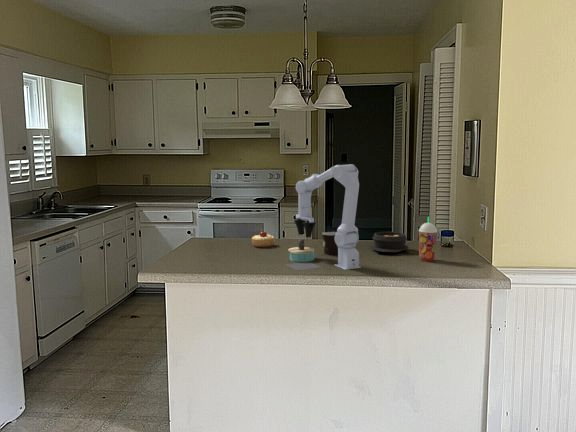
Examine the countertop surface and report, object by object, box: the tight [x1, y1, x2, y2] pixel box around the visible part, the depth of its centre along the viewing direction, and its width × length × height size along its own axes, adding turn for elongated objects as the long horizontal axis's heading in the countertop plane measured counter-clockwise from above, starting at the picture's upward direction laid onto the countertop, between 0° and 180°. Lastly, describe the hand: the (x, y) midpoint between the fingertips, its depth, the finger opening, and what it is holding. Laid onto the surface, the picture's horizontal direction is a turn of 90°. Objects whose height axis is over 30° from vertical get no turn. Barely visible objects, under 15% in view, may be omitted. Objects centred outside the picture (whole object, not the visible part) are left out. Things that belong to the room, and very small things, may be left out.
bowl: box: [289, 251, 315, 263], centre depth 252 cm, size 11×11×4 cm
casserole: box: [370, 231, 410, 254], centre depth 271 cm, size 25×19×8 cm
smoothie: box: [417, 216, 438, 263], centre depth 248 cm, size 8×8×20 cm
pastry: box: [251, 228, 276, 248], centre depth 285 cm, size 12×12×9 cm
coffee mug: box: [321, 231, 338, 256], centre depth 265 cm, size 12×9×10 cm
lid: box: [288, 239, 315, 254], centre depth 251 cm, size 12×12×5 cm
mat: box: [285, 261, 323, 271], centre depth 238 cm, size 12×12×1 cm
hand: (304, 235), depth 255 cm, fingers open, 7 cm apart
